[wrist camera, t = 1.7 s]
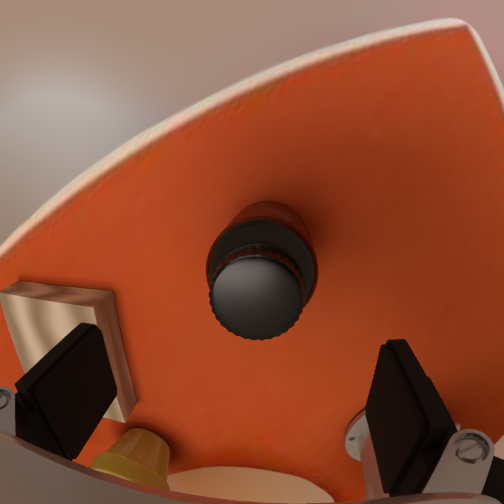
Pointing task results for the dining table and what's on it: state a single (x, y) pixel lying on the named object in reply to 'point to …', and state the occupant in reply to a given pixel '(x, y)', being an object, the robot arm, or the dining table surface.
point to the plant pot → (137, 459)
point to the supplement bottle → (261, 271)
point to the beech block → (67, 329)
